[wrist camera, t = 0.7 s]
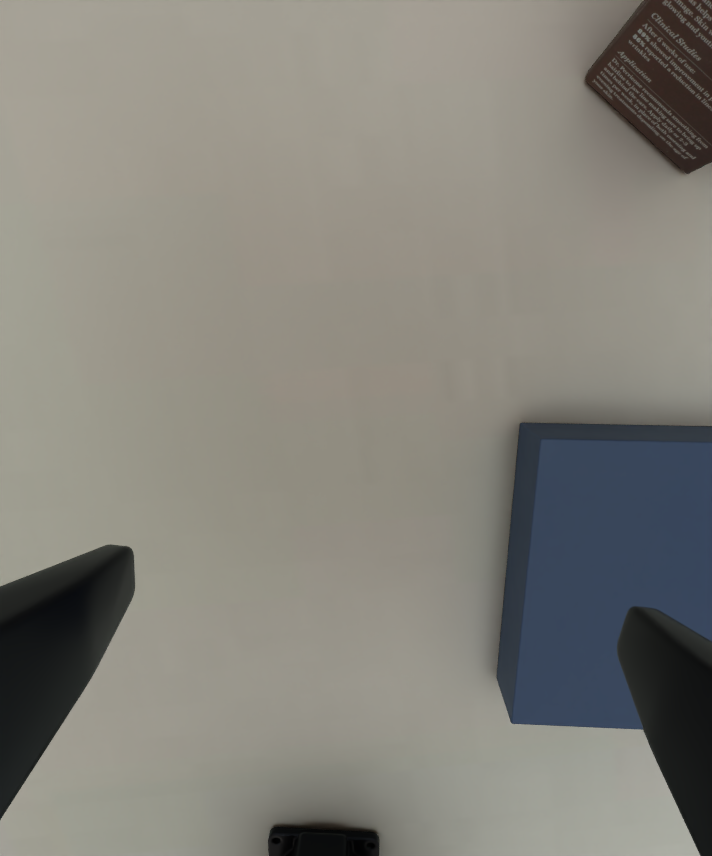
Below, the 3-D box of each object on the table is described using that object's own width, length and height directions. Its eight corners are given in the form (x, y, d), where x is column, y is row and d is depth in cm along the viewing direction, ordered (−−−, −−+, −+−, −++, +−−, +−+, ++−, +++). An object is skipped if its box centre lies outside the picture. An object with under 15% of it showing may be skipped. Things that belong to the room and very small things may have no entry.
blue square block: (756, 688, 25) (806, 737, 22) (496, 677, 26) (511, 724, 23) (819, 428, 22) (886, 445, 19) (519, 422, 23) (540, 438, 20)
